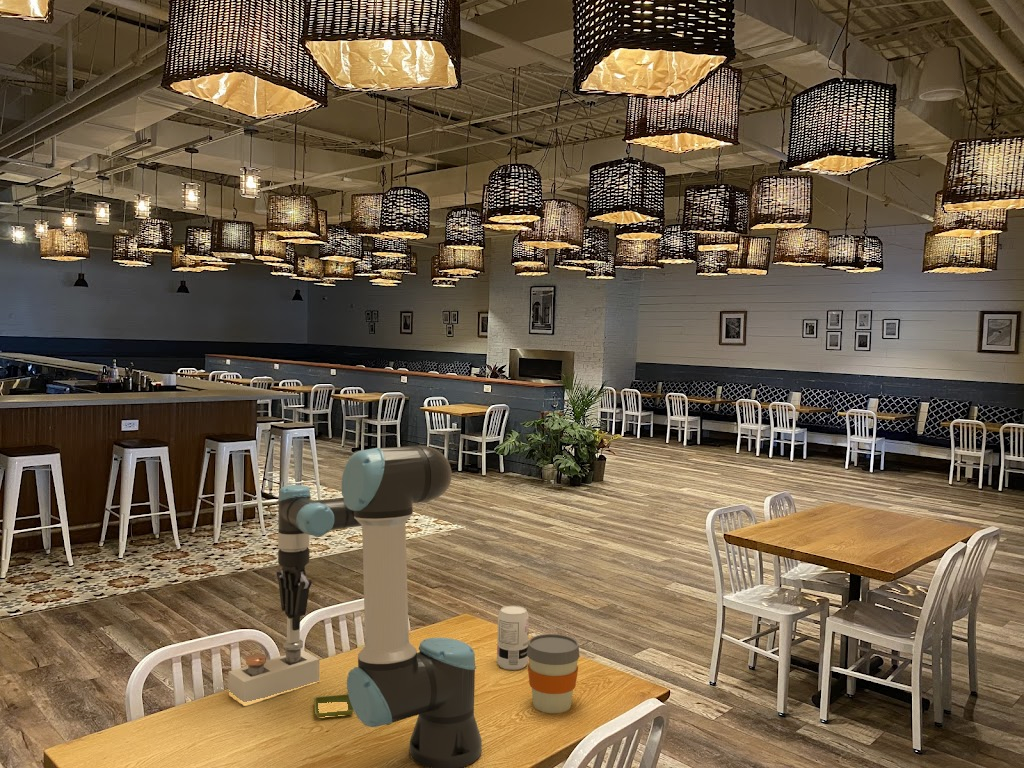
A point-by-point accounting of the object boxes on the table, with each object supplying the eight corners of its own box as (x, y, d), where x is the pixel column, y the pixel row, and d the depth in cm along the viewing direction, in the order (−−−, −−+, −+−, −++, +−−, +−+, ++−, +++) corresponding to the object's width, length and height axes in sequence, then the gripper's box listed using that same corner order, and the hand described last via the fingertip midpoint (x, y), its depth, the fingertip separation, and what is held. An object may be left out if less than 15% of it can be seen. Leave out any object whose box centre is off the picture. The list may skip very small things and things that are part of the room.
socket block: (244, 707, 186) (244, 682, 186) (228, 696, 192) (228, 671, 191) (319, 682, 200) (319, 659, 200) (302, 672, 206) (302, 650, 206)
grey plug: (289, 680, 196) (289, 647, 196) (280, 674, 199) (280, 642, 199) (306, 674, 199) (306, 642, 199) (296, 669, 203) (296, 637, 202)
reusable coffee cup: (541, 688, 199) (543, 629, 199) (587, 701, 193) (588, 640, 192) (516, 708, 189) (517, 645, 188) (563, 721, 182) (564, 657, 181)
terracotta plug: (251, 697, 189) (251, 663, 189) (242, 690, 192) (242, 657, 192) (269, 691, 192) (269, 657, 192) (260, 685, 196) (260, 652, 195)
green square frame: (354, 718, 182) (354, 709, 182) (315, 722, 180) (315, 713, 180) (351, 702, 191) (351, 693, 191) (313, 705, 188) (314, 697, 188)
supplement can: (492, 661, 216) (493, 607, 215) (519, 657, 219) (520, 603, 218) (504, 673, 208) (505, 616, 208) (532, 668, 212) (534, 612, 211)
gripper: (321, 550, 196) (320, 645, 197) (293, 540, 205) (293, 630, 206) (294, 556, 191) (293, 652, 192) (266, 545, 200) (266, 638, 201)
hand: (293, 641), depth 199 cm, fingers closed
